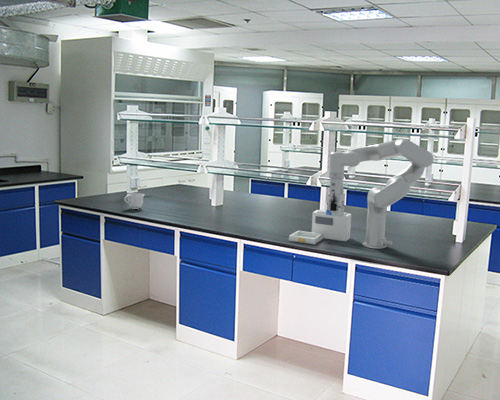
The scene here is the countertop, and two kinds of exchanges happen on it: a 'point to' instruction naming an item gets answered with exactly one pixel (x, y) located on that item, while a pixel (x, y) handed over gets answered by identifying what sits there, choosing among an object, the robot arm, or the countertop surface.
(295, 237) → the tray
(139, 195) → the teacup
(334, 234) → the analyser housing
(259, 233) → the countertop surface
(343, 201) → the ink box
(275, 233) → the countertop surface
